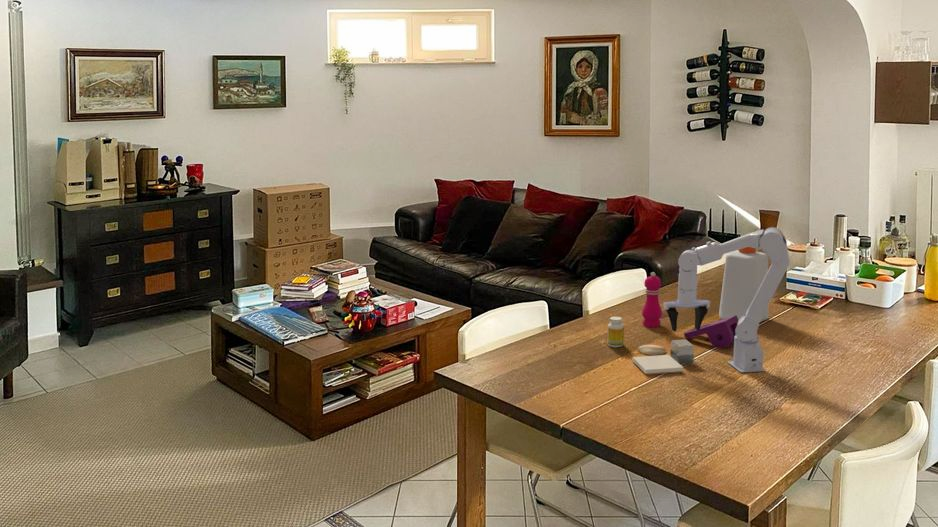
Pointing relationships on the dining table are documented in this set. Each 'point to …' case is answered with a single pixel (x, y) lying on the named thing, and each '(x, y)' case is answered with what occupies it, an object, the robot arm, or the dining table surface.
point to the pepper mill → (652, 302)
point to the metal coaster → (652, 349)
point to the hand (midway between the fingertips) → (685, 329)
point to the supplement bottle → (615, 332)
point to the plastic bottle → (742, 282)
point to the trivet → (657, 364)
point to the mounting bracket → (717, 332)
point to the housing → (682, 351)
